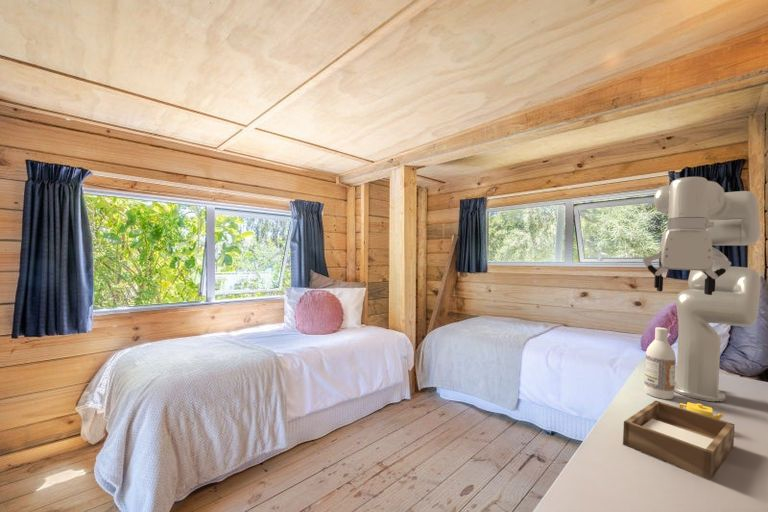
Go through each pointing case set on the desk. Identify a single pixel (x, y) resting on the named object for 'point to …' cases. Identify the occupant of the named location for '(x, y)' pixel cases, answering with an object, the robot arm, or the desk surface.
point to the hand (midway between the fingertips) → (683, 292)
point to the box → (678, 450)
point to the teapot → (700, 409)
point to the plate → (678, 433)
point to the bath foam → (660, 366)
